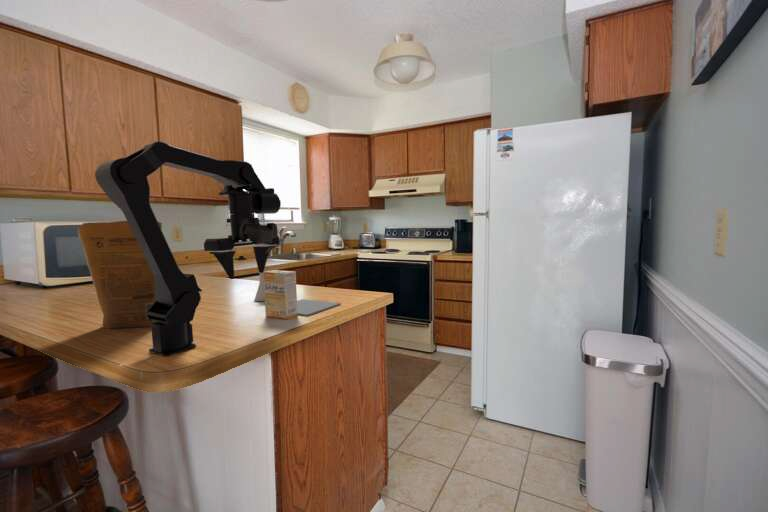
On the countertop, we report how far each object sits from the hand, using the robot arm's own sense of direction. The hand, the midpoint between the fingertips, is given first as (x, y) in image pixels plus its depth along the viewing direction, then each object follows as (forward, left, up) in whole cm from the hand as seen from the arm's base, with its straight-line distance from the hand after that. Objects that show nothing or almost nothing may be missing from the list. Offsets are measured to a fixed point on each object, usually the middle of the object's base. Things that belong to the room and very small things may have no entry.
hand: (247, 275), depth 88 cm
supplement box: (+11, 0, -13) cm, 17 cm away
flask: (+26, +23, -14) cm, 37 cm away
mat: (+22, +1, -13) cm, 26 cm away
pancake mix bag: (-13, +30, -13) cm, 35 cm away
